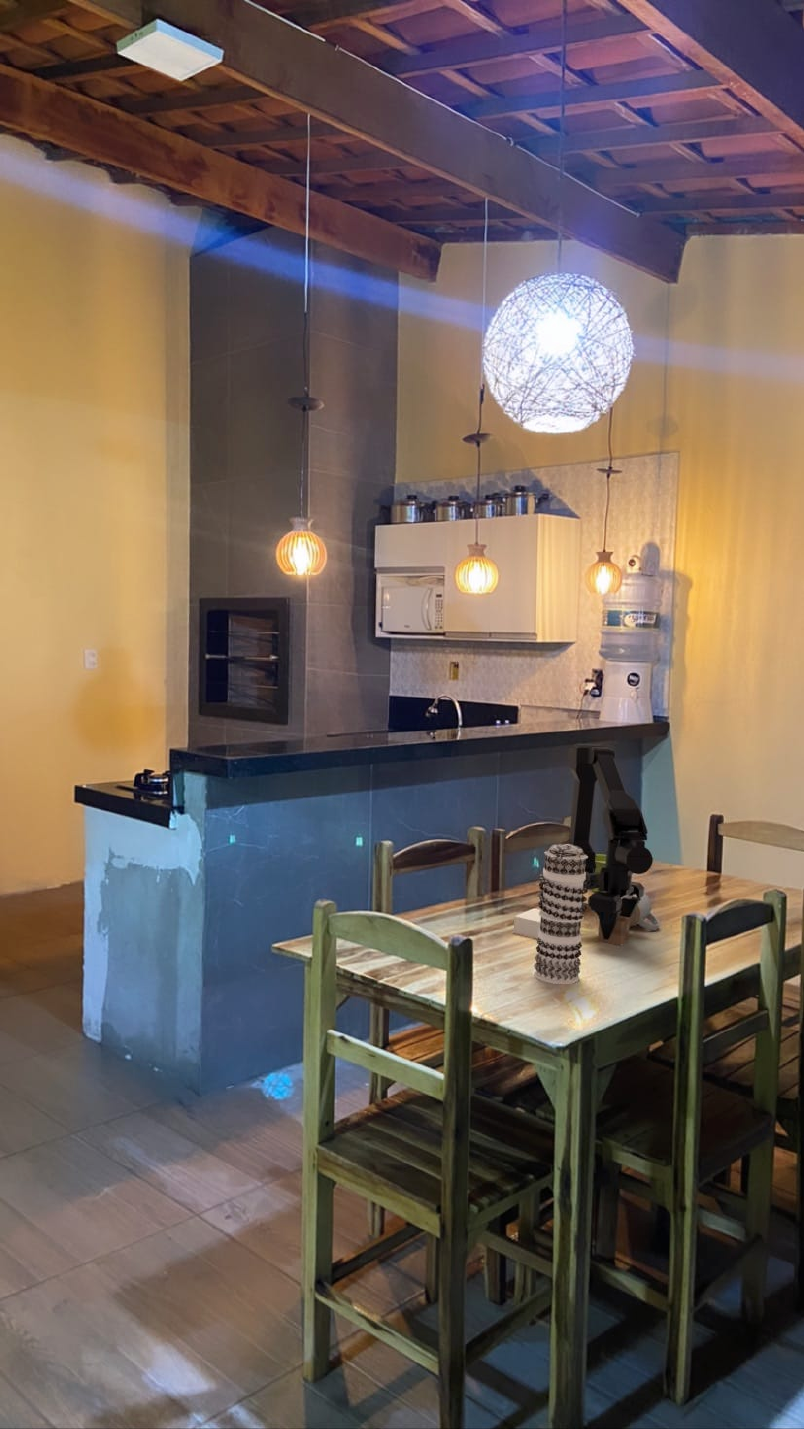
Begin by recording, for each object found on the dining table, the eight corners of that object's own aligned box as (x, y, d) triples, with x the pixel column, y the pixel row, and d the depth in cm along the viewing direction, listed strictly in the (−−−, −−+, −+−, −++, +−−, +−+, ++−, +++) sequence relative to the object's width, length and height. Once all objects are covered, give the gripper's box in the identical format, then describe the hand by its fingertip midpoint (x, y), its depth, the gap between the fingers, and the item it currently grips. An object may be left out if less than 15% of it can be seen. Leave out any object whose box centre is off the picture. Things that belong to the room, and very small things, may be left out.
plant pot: (625, 897, 257) (628, 863, 257) (588, 895, 257) (591, 861, 257) (618, 888, 267) (621, 855, 266) (582, 886, 267) (584, 853, 266)
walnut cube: (606, 935, 222) (607, 913, 222) (628, 940, 220) (630, 917, 220) (598, 940, 218) (599, 917, 218) (620, 945, 216) (622, 922, 215)
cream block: (532, 925, 227) (534, 908, 227) (569, 934, 222) (571, 916, 222) (513, 934, 220) (514, 916, 220) (551, 943, 215) (552, 925, 215)
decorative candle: (543, 965, 199) (552, 839, 197) (588, 975, 194) (598, 846, 192) (524, 977, 191) (533, 846, 189) (570, 988, 186) (581, 854, 184)
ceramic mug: (606, 925, 231) (610, 891, 230) (617, 917, 238) (621, 885, 237) (653, 935, 226) (656, 901, 225) (663, 927, 233) (666, 894, 232)
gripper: (598, 850, 230) (593, 918, 231) (567, 863, 214) (561, 936, 215) (647, 858, 224) (641, 928, 225) (618, 872, 208) (612, 947, 209)
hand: (613, 934), depth 219 cm, fingers open, 9 cm apart
